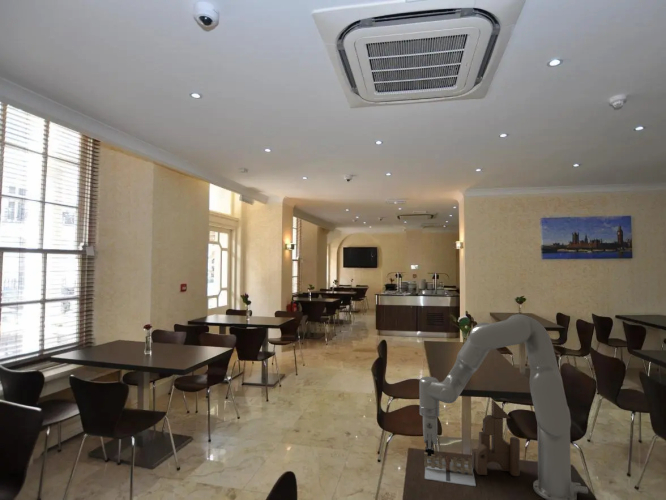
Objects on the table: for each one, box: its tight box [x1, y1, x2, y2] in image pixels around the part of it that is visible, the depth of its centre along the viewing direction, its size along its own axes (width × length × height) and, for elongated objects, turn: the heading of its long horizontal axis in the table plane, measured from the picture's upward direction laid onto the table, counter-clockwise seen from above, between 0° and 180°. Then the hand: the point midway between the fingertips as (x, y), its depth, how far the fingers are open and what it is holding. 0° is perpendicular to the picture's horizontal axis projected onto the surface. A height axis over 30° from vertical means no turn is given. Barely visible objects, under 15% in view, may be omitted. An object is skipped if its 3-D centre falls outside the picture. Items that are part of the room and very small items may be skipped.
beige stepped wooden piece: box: [423, 451, 451, 471], centre depth 143 cm, size 9×1×5 cm, turn 75°
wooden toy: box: [471, 399, 521, 477], centre depth 142 cm, size 15×7×25 cm, turn 88°
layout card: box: [424, 460, 477, 487], centre depth 141 cm, size 17×14×1 cm
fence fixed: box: [450, 456, 472, 475], centre depth 140 cm, size 7×1×6 cm, turn 75°
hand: (429, 458), depth 149 cm, fingers closed
